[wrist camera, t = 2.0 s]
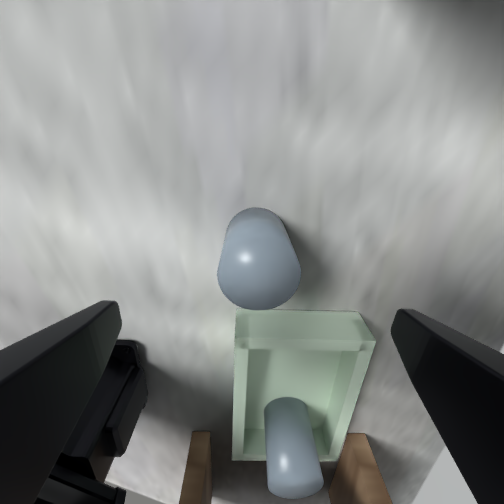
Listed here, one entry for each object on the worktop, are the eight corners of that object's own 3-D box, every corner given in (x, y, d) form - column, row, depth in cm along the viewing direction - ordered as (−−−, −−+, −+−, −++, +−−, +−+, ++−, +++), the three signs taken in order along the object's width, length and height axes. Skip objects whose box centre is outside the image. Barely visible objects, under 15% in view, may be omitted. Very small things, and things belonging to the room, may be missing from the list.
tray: (233, 424, 21) (231, 460, 19) (236, 308, 16) (234, 337, 14) (327, 425, 22) (336, 461, 19) (357, 311, 17) (376, 340, 14)
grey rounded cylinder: (226, 262, 15) (217, 309, 11) (226, 206, 14) (216, 235, 9) (282, 264, 15) (295, 311, 11) (288, 209, 14) (306, 239, 10)
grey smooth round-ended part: (262, 424, 20) (266, 498, 16) (265, 396, 19) (270, 468, 15) (304, 425, 20) (318, 498, 16) (310, 397, 19) (327, 469, 15)
